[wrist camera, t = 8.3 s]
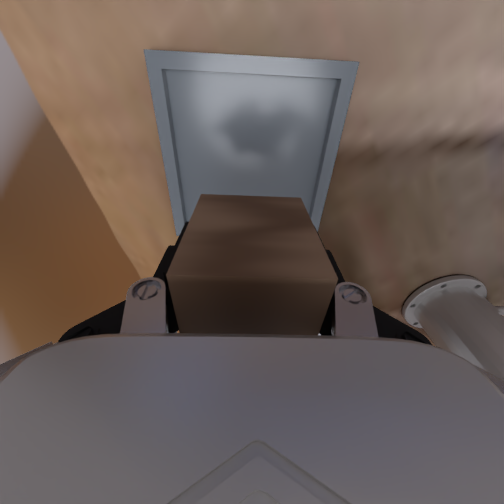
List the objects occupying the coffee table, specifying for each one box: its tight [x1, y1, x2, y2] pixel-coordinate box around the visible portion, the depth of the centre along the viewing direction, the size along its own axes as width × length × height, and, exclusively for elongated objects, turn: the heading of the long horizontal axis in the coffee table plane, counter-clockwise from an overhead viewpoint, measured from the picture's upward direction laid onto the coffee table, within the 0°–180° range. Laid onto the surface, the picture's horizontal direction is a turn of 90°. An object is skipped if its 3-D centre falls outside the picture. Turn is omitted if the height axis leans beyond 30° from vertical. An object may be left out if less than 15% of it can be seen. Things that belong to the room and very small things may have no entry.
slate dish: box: [144, 49, 359, 236], centre depth 25 cm, size 18×18×2 cm
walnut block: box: [166, 194, 338, 335], centre depth 11 cm, size 5×5×6 cm
